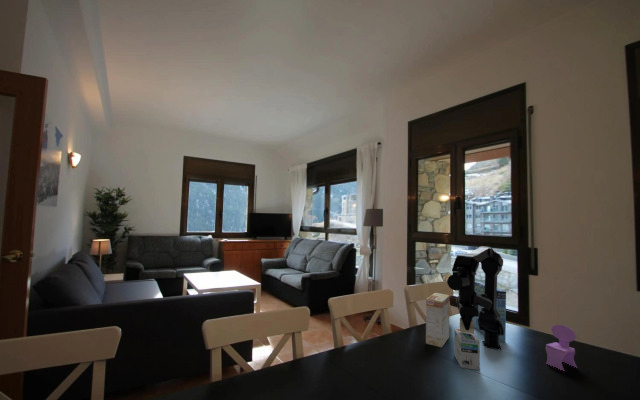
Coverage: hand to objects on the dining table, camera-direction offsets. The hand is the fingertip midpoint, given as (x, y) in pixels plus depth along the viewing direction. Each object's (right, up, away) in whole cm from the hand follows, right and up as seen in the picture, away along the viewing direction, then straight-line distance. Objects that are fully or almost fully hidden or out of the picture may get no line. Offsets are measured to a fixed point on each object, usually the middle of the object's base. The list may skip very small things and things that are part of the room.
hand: (466, 327), depth 114 cm
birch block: (0, -1, 0) cm, 1 cm away
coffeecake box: (-3, -14, +20) cm, 24 cm away
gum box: (+25, -16, +30) cm, 42 cm away
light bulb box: (-1, -13, -1) cm, 13 cm away
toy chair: (+36, -15, -1) cm, 39 cm away
